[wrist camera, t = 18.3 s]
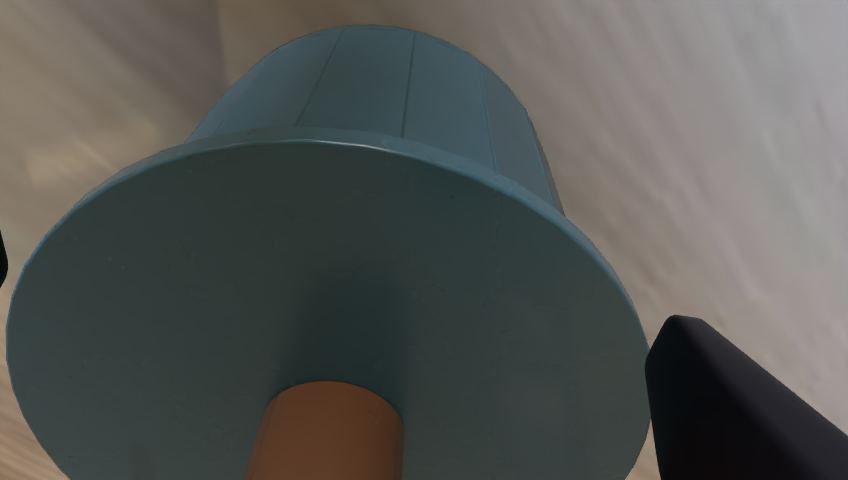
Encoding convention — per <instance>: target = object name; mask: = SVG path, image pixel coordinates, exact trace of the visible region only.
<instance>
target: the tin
mask: <svg viewBox="0 0 848 480" xmlns="http://www.w3.org/2000/svg"><path fill="white" fill-rule="evenodd" d="M314 126H316V127H327V128H338V129H348V130H359V131H370V132H374V133H379V134H383V135H388V136H393V137H397V138H402V139H407V140H411V141H416V142H420V143H424V144H427V145H430V146H432V147H435V148H438V149H441V150H444V151H447V152H450V153H453V154H456V155H458V156H461V157H464V158H467V159H470V160H472V161H474V162H476V163H478V164H480V165H482V166H484V167H487V168H489V169H491V170H493V171H495V172H497V173H499V174H501V175H503V176H505V177H507V178H509V179H511V180H513V181H515V182H517V183H518V184H520V185H521V186H523V187H524V188H526V189H527V190H529V191H530V192H532V193H533V194H535V195H536V196H538V197H539V198H541V199H542V200H544V201H545V202H547V203H548V204H550V205H551V206H553V207H554V208H556V209H557V210H558V211H559V212H560V213H561V214H562V215H563V216H565V214H564V211H563V208H562V205H561V202H560V199H559V196H558V192H557V189H556V186H555V183H554V180H553V177H552V174H551V171H550V168H549V164H548V161H547V159H546V156H545V154H544V152H543V149H542V147H541V144H540V142H539V140H538V137H537V135H536V132H535V130H534V127H533V124H532V122H531V120H530V118H529V116H528V114H527V111H526V109H525V108H524V107H523V105H522V104H521V103H520V102H519V100H518V99H517V98H516V97H515V95H514V94H513V93H512V91H511V90H510V89H509V88H508V86H507V85H506V84H505V83H504V82H503V81H502V80H501V79H500V78H499V77H498V76H497V75H496V74H495V73H494V72H493V71H491V70H490V69H489V68H488V67H487V66H485V65H484V64H483V63H481V62H480V61H478V60H477V59H476V58H474V57H473V56H472V55H470V54H469V53H467V52H465V51H463V50H461V49H459V48H457V47H456V46H454V45H452V44H450V43H448V42H446V41H443V40H441V39H438V38H435V37H433V36H430V35H427V34H425V33H421V32H417V31H412V30H408V29H404V28H400V27H391V26H380V25H354V26H343V27H337V28H332V29H326V30H321V31H318V32H315V33H312V34H309V35H306V36H303V37H300V38H298V39H296V40H294V41H292V42H290V43H287V44H285V45H283V46H281V47H279V48H277V49H276V50H275V51H273V52H272V53H270V54H269V55H267V56H266V57H264V58H263V59H262V60H260V61H259V62H258V63H257V64H256V65H254V66H253V67H252V68H251V69H250V70H249V71H248V72H247V73H246V74H245V75H244V76H243V77H241V78H240V79H239V80H238V81H236V82H235V83H234V84H233V85H232V86H231V87H230V88H229V89H228V91H227V92H226V93H225V94H224V95H223V97H222V98H221V99H220V100H219V102H218V103H217V104H216V105H215V106H214V108H213V109H212V110H211V111H210V112H209V114H208V115H207V116H206V117H205V119H204V120H203V121H202V122H201V123H200V125H199V126H198V127H197V128H196V129H195V131H194V132H193V133H192V134H191V135H190V137H189V138H188V139H187V140H186V142H185V143H184V144H186V143H189V142H192V141H196V140H199V139H202V138H206V137H209V136H214V135H221V134H227V133H233V132H240V131H246V130H252V129H259V128H281V127H314Z"/></svg>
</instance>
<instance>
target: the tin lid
mask: <svg viewBox="0 0 848 480" xmlns="http://www.w3.org/2000/svg"><path fill="white" fill-rule="evenodd" d="M649 351H650V348H649V345H648V343H647V340H646V337H645V334H644V331H643V329H642V326H641V323H640V320H639V317H638V315H637V312H636V310H635V307H634V305H633V302H632V300H631V298H630V297H629V295H628V293H627V291H626V290H625V288H624V286H623V284H622V283H621V281H620V279H619V277H618V276H617V274H616V272H615V270H614V269H613V267H612V266H611V265H610V264H609V263H608V261H607V260H606V259H605V258H604V256H603V255H602V254H601V253H600V252H599V250H598V249H597V248H596V247H595V245H594V244H593V243H592V242H591V241H590V239H589V238H588V237H587V236H586V235H585V234H583V233H582V232H581V231H580V230H579V229H578V228H577V227H576V226H575V225H573V224H572V223H571V222H570V221H569V220H568V219H567V218H566V217H565V216H563V215H562V214H561V213H560V212H559V211H558V210H557V209H556V208H554V207H553V206H551V205H550V204H548V203H547V202H545V201H544V200H542V199H541V198H539V197H538V196H536V195H535V194H533V193H532V192H530V191H529V190H527V189H526V188H524V187H523V186H521V185H520V184H518V183H517V182H515V181H513V180H511V179H509V178H507V177H505V176H503V175H501V174H499V173H497V172H495V171H493V170H491V169H489V168H487V167H484V166H482V165H480V164H478V163H476V162H474V161H472V160H470V159H467V158H464V157H461V156H458V155H456V154H453V153H450V152H447V151H444V150H441V149H438V148H435V147H432V146H430V145H427V144H424V143H420V142H416V141H411V140H407V139H402V138H397V137H393V136H388V135H383V134H379V133H374V132H370V131H359V130H348V129H338V128H327V127H316V126H314V127H281V128H259V129H252V130H246V131H240V132H233V133H227V134H221V135H214V136H209V137H206V138H202V139H199V140H196V141H192V142H189V143H186V144H182V145H179V146H176V147H172V148H169V149H166V150H163V151H160V152H158V153H156V154H154V155H152V156H150V157H148V158H146V159H143V160H141V161H139V162H137V163H135V164H133V165H131V166H128V167H126V168H124V169H122V170H120V171H119V172H118V173H116V174H115V175H113V176H112V177H110V178H109V179H107V180H106V181H104V182H103V183H101V184H100V185H98V186H97V187H96V188H94V189H93V190H91V191H90V192H88V193H87V194H86V195H85V196H84V197H83V198H82V199H81V200H80V201H79V202H78V203H77V204H75V205H74V206H73V207H72V208H71V209H70V210H69V211H68V212H67V213H66V214H65V215H64V216H63V217H62V218H61V219H60V220H59V221H58V222H57V223H56V224H55V225H54V226H53V227H52V228H51V229H50V230H49V231H48V232H47V233H46V234H45V236H44V237H43V239H42V240H41V242H40V243H39V245H38V246H37V247H36V249H35V250H34V252H33V253H32V255H31V256H30V258H29V259H28V261H27V262H26V263H25V265H24V268H23V270H22V273H21V275H20V277H19V280H18V282H17V284H16V287H15V289H14V292H13V294H12V298H11V303H10V308H9V314H8V319H7V324H6V361H7V365H8V370H9V375H10V379H11V384H12V389H13V392H14V394H15V396H16V399H17V401H18V404H19V406H20V409H21V411H22V414H23V416H24V418H25V420H26V422H27V424H28V425H29V427H30V429H31V430H32V432H33V434H34V435H35V437H36V439H37V440H38V442H39V444H40V445H41V446H42V448H43V449H44V450H45V451H46V453H47V454H48V455H49V456H50V458H51V459H52V460H53V462H54V463H55V464H56V465H57V467H58V468H59V469H60V470H61V471H62V472H63V473H64V474H65V475H66V476H67V477H68V478H69V479H70V480H625V479H626V477H627V476H628V474H629V473H630V471H631V469H632V468H633V466H634V465H635V463H636V461H637V458H638V456H639V454H640V451H641V449H642V447H643V445H644V442H645V440H646V437H647V433H648V428H649V424H650V420H651V414H650V407H649V400H648V393H647V386H646V379H645V361H646V358H647V355H648V353H649Z"/></svg>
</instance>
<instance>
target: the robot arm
mask: <svg viewBox="0 0 848 480" xmlns="http://www.w3.org/2000/svg"><path fill="white" fill-rule="evenodd" d="M7 271H8V259H7V255H6V251H5V247H4V243H3V239H2V235H1V231H0V288H1V286H2V284H3V282H4V280H5V278H6V275H7ZM645 379H646V386H647V393H648V400H649V407H650V414H651V421H652V428H653V435H654V442H655V449H656V456H657V462H658V467H659V473H660V477H661V480H848V436H847V435H846V434H845V433H844V432H842V431H841V430H840V429H838V428H837V427H836V426H835V425H833V424H832V423H831V422H830V421H828V420H827V419H826V418H825V417H823V416H822V415H821V414H820V413H819V412H817V411H816V410H815V409H814V408H812V407H811V406H810V405H809V404H807V403H806V402H805V401H804V400H802V399H801V398H800V397H799V396H797V395H796V394H795V393H794V392H792V391H791V390H790V389H789V388H787V387H786V386H785V385H784V384H782V383H781V382H780V381H779V380H777V379H776V378H775V377H774V376H772V375H771V374H770V373H769V372H767V371H766V370H765V369H764V368H762V367H761V366H760V365H759V364H757V363H756V362H755V361H754V360H752V359H751V358H750V357H749V356H747V355H746V354H745V353H744V352H742V351H741V350H740V349H739V348H737V347H736V346H735V345H734V344H732V343H731V342H730V341H729V340H727V339H726V338H725V337H724V336H722V335H721V334H720V333H719V332H717V331H716V330H715V329H714V328H712V327H711V326H710V325H709V324H707V323H706V322H705V321H703V320H702V319H699V318H694V317H688V316H681V315H673V316H670V317H669V318H668V319H667V320H666V321H665V323H664V324H663V326H662V328H661V330H660V332H659V334H658V336H657V338H656V339H655V341H654V343H653V345H652V347H651V349H650V351H649V353H648V355H647V358H646V361H645Z"/></svg>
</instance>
